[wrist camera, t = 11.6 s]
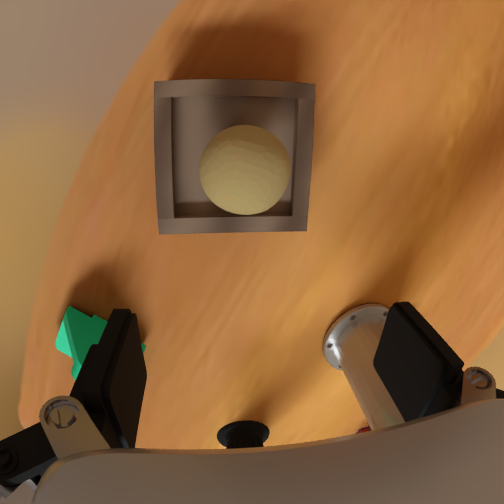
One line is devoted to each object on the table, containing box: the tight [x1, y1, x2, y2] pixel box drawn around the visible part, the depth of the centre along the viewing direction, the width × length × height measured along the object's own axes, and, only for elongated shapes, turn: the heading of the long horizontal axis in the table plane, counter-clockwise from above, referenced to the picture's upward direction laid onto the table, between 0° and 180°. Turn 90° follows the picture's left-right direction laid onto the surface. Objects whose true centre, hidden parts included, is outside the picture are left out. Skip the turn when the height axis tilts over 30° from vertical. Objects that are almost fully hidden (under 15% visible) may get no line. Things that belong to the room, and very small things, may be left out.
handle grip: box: [217, 421, 269, 449], centre depth 42 cm, size 10×26×10 cm
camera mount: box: [55, 306, 146, 381], centre depth 37 cm, size 12×8×10 cm, turn 56°
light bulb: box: [199, 125, 291, 215], centre depth 24 cm, size 6×6×10 cm
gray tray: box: [154, 79, 315, 234], centre depth 31 cm, size 14×14×7 cm
